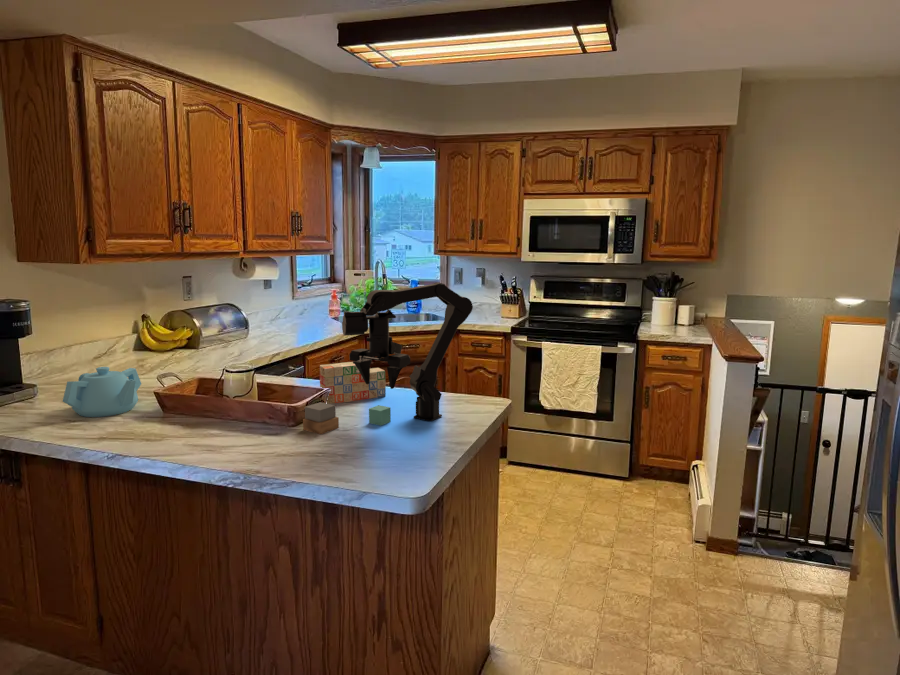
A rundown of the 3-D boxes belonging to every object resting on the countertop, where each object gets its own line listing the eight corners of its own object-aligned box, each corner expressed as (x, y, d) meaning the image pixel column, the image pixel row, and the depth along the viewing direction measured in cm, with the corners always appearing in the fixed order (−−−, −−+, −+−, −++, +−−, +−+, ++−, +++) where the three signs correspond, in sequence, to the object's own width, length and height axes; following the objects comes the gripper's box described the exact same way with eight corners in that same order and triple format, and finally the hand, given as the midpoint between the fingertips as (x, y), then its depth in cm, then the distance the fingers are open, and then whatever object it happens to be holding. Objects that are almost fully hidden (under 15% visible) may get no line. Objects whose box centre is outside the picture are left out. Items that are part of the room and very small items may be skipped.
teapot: (63, 421, 171) (59, 375, 169) (79, 404, 188) (75, 362, 186) (137, 415, 177) (134, 371, 175) (145, 400, 195) (142, 359, 193)
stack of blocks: (379, 393, 207) (378, 359, 205) (385, 397, 202) (385, 362, 200) (320, 400, 197) (319, 364, 195) (325, 404, 191) (324, 368, 190)
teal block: (390, 422, 173) (390, 407, 173) (381, 426, 170) (380, 411, 169) (378, 419, 176) (378, 405, 175) (369, 423, 172) (368, 408, 171)
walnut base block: (338, 429, 167) (338, 417, 167) (321, 435, 162) (320, 423, 161) (321, 424, 171) (320, 413, 171) (303, 431, 165) (302, 419, 165)
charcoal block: (335, 417, 167) (335, 405, 166) (320, 422, 162) (320, 410, 161) (320, 413, 170) (320, 402, 169) (305, 418, 165) (304, 406, 165)
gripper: (421, 333, 170) (421, 385, 173) (372, 327, 180) (373, 377, 183) (398, 338, 161) (398, 393, 164) (347, 332, 171) (348, 384, 173)
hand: (379, 386), depth 171 cm, fingers open, 9 cm apart
